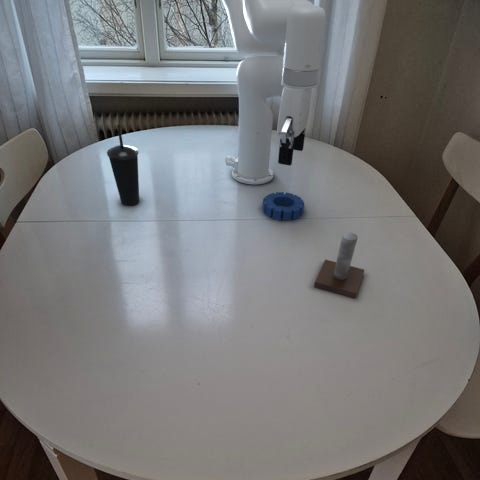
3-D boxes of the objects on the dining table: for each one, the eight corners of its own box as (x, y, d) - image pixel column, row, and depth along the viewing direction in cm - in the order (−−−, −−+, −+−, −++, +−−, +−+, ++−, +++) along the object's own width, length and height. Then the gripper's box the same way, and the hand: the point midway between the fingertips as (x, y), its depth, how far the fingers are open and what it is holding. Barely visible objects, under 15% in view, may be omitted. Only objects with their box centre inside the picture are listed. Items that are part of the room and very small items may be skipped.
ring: (256, 215, 114) (257, 206, 112) (270, 197, 121) (271, 188, 119) (295, 224, 111) (297, 215, 109) (307, 206, 118) (308, 197, 117)
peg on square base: (313, 287, 93) (322, 241, 85) (324, 264, 99) (333, 220, 91) (355, 298, 90) (368, 253, 82) (363, 274, 96) (376, 230, 89)
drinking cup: (110, 204, 115) (95, 127, 101) (125, 192, 120) (114, 117, 106) (134, 211, 113) (123, 133, 99) (149, 198, 118) (141, 122, 104)
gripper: (294, 66, 99) (286, 142, 110) (270, 84, 87) (264, 167, 98) (326, 70, 97) (314, 147, 108) (306, 89, 85) (295, 173, 96)
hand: (290, 156), depth 103 cm, fingers open, 9 cm apart
